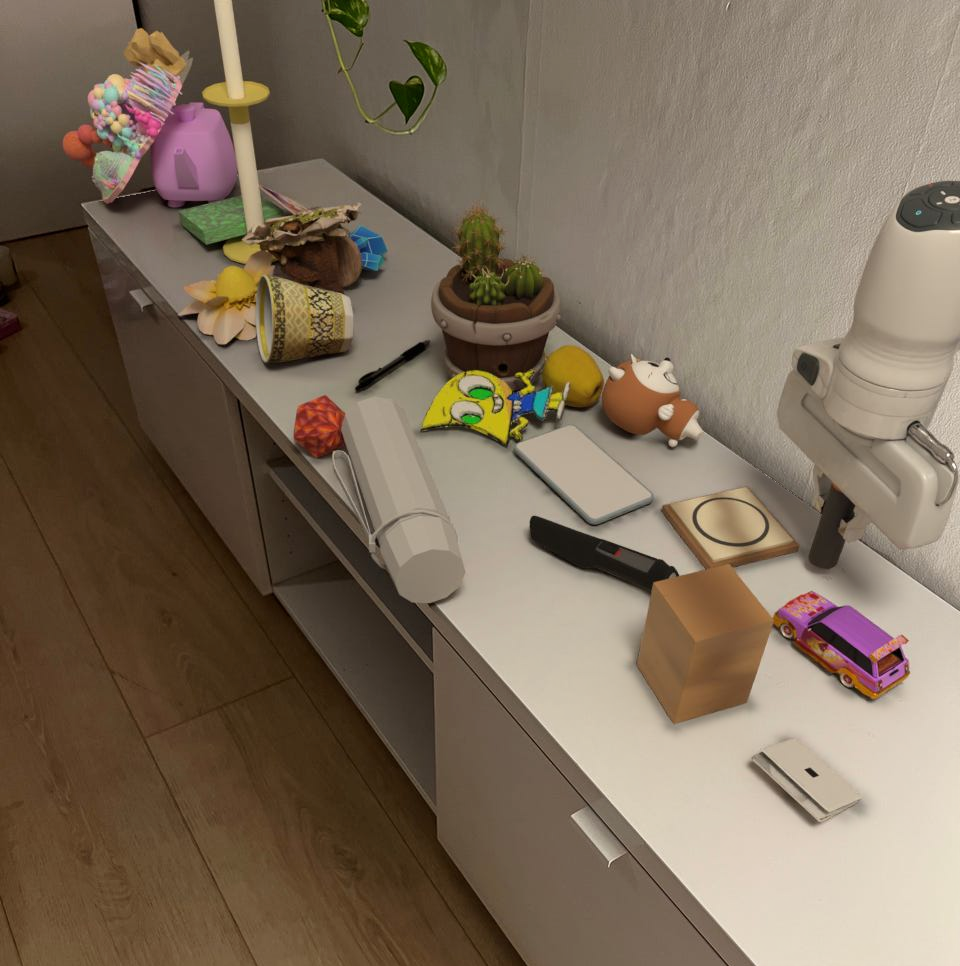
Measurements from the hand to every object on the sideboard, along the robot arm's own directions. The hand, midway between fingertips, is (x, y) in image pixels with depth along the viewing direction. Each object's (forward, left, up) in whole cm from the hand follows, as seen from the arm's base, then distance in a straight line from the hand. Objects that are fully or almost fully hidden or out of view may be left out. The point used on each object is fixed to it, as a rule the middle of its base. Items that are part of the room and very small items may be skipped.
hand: (835, 522), depth 92 cm
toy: (+15, -29, -3) cm, 32 cm away
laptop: (+16, +22, -6) cm, 28 cm away
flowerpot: (+18, -42, -6) cm, 46 cm away
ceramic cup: (+32, -56, -3) cm, 65 cm away
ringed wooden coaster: (+5, -8, -6) cm, 11 cm away
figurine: (+1, -21, -3) cm, 21 cm away
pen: (+29, -48, -4) cm, 56 cm away
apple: (+9, -32, -4) cm, 33 cm away
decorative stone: (+39, -31, -1) cm, 50 cm away
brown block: (+19, +9, -6) cm, 22 cm away
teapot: (+43, -105, -6) cm, 113 cm away
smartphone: (+16, -21, -6) cm, 27 cm away
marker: (0, 0, -5) cm, 5 cm away
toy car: (+5, +10, -6) cm, 13 cm away
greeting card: (+33, -94, -5) cm, 100 cm away
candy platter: (+47, -107, +4) cm, 117 cm away
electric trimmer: (+20, -7, -6) cm, 22 cm away
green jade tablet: (+40, -91, -3) cm, 100 cm away
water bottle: (+36, -32, -2) cm, 49 cm away
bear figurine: (+34, -70, +5) cm, 78 cm away
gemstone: (+30, -69, -2) cm, 76 cm away
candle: (+38, -84, -6) cm, 92 cm away
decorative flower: (+41, -63, -1) cm, 76 cm away
